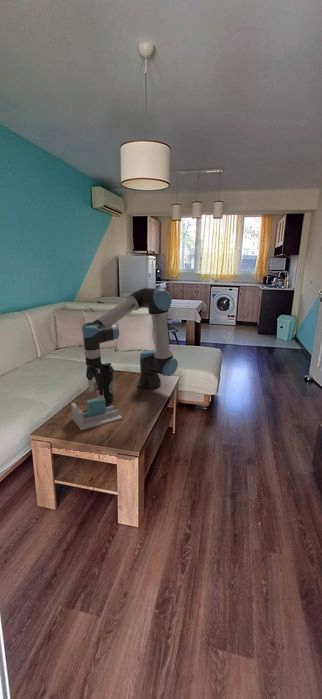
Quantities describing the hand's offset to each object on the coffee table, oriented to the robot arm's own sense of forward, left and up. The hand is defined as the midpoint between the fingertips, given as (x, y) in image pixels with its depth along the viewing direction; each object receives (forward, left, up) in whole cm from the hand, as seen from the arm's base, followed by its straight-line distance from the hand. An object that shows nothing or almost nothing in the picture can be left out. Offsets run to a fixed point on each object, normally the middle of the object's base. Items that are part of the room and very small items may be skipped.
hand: (96, 395), depth 169 cm
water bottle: (-13, -19, -13) cm, 26 cm away
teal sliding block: (0, 0, -12) cm, 12 cm away
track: (0, 0, -13) cm, 13 cm away
